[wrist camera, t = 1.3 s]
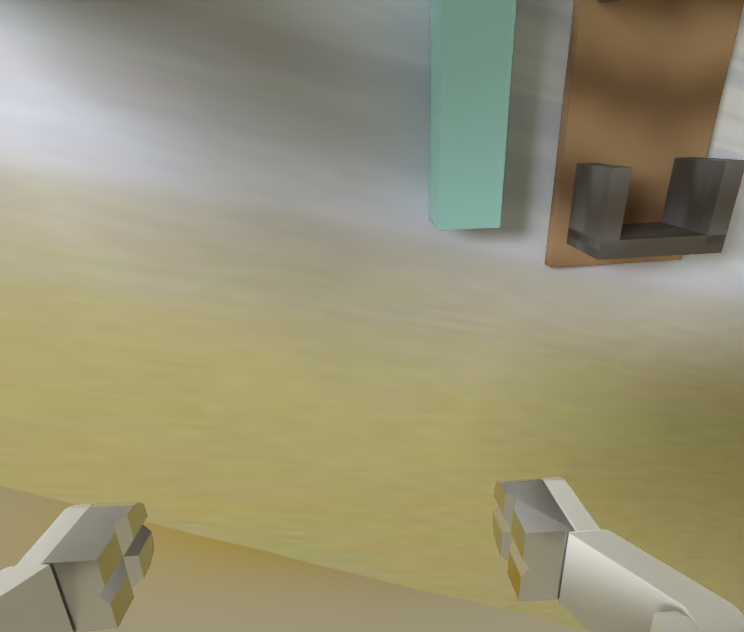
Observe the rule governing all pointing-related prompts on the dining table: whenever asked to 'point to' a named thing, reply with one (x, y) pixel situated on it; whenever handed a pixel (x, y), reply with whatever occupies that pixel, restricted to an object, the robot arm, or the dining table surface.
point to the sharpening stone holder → (643, 133)
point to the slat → (469, 110)
